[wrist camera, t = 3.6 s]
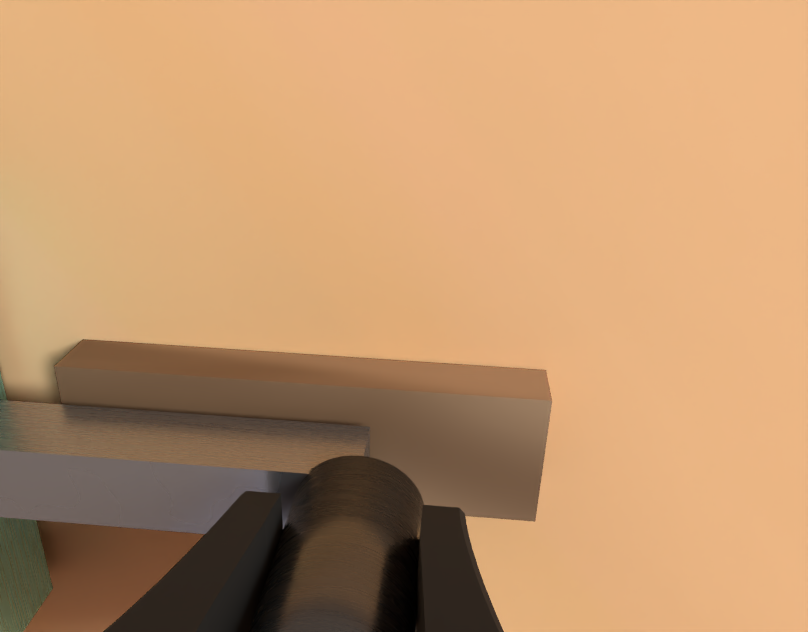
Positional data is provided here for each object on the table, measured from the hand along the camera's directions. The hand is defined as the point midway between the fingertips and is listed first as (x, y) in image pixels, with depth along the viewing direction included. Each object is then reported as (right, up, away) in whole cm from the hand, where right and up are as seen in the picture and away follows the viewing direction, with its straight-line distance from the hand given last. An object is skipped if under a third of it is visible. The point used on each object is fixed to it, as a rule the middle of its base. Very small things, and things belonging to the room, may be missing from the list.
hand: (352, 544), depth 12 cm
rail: (-1, +2, +4) cm, 4 cm away
